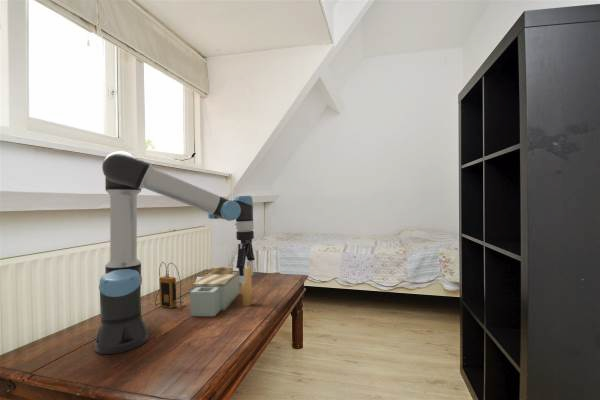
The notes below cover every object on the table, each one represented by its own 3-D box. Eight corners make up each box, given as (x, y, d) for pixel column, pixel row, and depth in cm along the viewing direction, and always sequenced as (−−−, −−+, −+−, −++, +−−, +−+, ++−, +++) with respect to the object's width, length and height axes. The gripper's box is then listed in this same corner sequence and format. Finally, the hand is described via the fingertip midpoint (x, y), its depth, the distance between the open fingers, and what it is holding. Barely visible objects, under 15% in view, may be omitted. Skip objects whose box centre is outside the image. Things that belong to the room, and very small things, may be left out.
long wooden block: (250, 306, 132) (250, 269, 133) (241, 305, 133) (241, 269, 133) (252, 303, 136) (252, 267, 137) (244, 303, 137) (243, 267, 137)
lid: (192, 286, 130) (192, 276, 130) (210, 274, 150) (210, 266, 150) (224, 286, 129) (224, 276, 129) (238, 274, 149) (237, 265, 149)
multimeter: (194, 302, 140) (193, 259, 140) (177, 309, 131) (176, 263, 131) (171, 298, 146) (170, 257, 146) (153, 305, 137) (152, 261, 137)
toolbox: (185, 316, 123) (185, 291, 123) (210, 294, 150) (210, 274, 150) (219, 316, 122) (218, 291, 122) (238, 294, 149) (238, 274, 149)
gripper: (244, 227, 147) (245, 271, 147) (227, 234, 122) (229, 287, 122) (259, 227, 146) (260, 271, 146) (245, 233, 121) (247, 286, 122)
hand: (246, 278), depth 134 cm, fingers open, 13 cm apart
